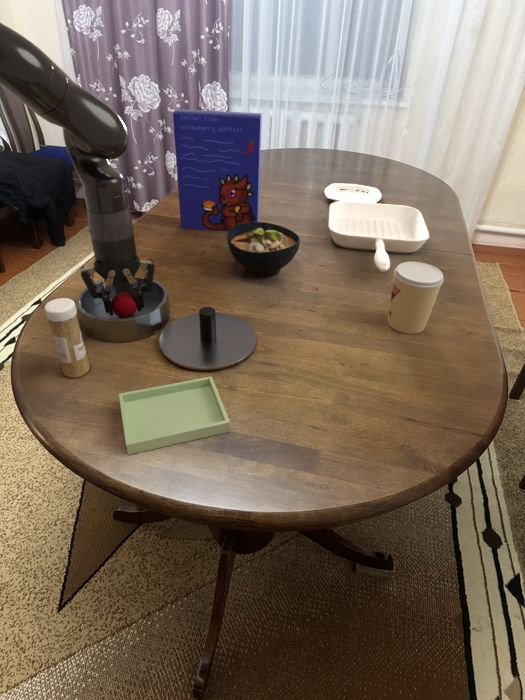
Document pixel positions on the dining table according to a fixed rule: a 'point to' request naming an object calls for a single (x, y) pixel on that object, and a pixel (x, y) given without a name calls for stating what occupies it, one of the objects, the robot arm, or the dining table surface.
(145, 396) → the tray
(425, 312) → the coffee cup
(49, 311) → the sprinkles bottle
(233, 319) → the pot lid
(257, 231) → the bowl
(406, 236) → the pan
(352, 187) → the plate
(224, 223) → the cereal box
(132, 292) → the pot
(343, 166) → the dining table surface
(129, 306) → the dark red ball
